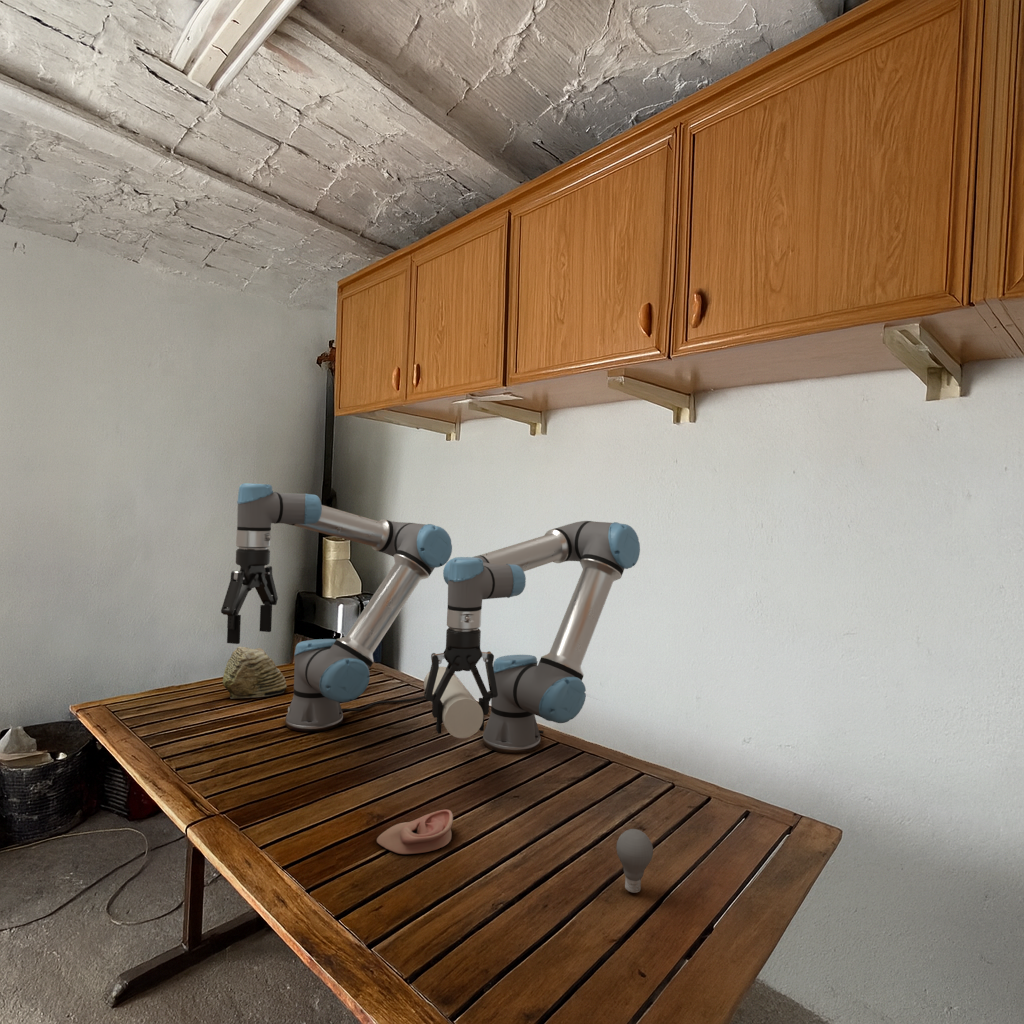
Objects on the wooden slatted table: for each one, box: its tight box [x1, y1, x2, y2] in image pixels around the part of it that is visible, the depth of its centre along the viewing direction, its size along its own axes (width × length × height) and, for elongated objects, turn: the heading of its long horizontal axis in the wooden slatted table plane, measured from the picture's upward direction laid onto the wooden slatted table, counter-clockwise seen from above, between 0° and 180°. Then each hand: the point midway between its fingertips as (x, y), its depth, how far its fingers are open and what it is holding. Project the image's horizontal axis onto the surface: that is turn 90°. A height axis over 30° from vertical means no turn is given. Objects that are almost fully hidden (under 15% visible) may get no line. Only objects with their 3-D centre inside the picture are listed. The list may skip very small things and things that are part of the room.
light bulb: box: [615, 828, 654, 894], centre depth 106 cm, size 6×6×10 cm
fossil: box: [222, 646, 288, 699], centre depth 198 cm, size 9×18×15 cm, turn 132°
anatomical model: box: [376, 809, 454, 855], centre depth 119 cm, size 13×4×12 cm
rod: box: [423, 666, 483, 739], centre depth 148 cm, size 26×9×9 cm, turn 18°
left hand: (250, 637), depth 151 cm, fingers open, 13 cm apart
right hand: (459, 730), depth 139 cm, fingers closed on rod, 9 cm apart
